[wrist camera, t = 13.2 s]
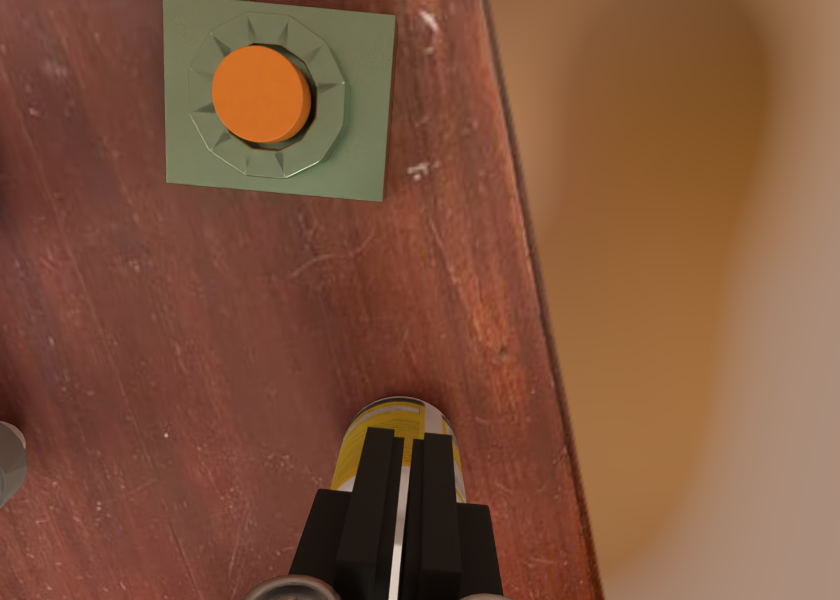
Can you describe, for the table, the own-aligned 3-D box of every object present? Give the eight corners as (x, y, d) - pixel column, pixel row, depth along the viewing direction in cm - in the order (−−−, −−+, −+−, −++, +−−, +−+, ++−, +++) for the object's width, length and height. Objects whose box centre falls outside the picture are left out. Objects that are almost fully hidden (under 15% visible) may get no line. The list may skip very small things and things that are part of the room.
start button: (313, 57, 24) (304, 49, 22) (309, 146, 25) (301, 146, 23) (225, 48, 24) (211, 40, 22) (225, 139, 25) (211, 137, 23)
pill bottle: (320, 431, 33) (267, 578, 21) (414, 369, 32) (411, 488, 20) (388, 514, 34) (372, 694, 23) (480, 457, 33) (511, 615, 22)
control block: (398, 28, 27) (393, 4, 23) (385, 198, 29) (379, 205, 25) (186, 8, 27) (142, -20, 23) (188, 180, 29) (147, 185, 25)
